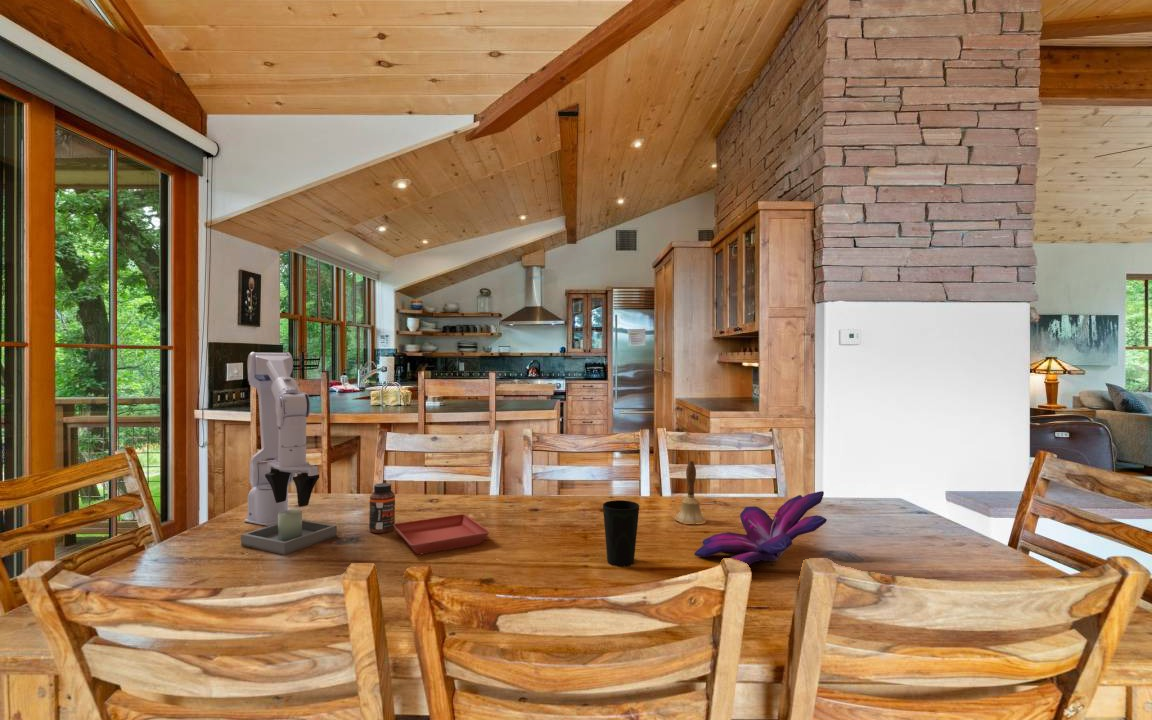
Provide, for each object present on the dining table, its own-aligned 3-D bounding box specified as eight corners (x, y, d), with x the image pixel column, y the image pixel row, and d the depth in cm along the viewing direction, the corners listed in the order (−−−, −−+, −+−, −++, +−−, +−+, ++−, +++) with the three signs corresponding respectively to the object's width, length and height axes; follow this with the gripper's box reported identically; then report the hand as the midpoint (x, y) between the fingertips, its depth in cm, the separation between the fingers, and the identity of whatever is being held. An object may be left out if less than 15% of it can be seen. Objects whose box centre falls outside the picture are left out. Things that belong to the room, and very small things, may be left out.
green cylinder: (273, 540, 126) (272, 514, 126) (292, 533, 130) (292, 508, 130) (288, 543, 124) (288, 516, 124) (307, 536, 128) (307, 511, 128)
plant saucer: (392, 536, 132) (392, 522, 132) (464, 525, 141) (464, 512, 141) (411, 560, 116) (411, 545, 116) (490, 546, 125) (490, 531, 125)
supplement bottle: (384, 535, 131) (384, 488, 131) (363, 532, 133) (364, 486, 133) (399, 528, 137) (400, 482, 137) (380, 525, 139) (380, 481, 139)
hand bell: (713, 522, 144) (713, 461, 144) (690, 527, 140) (691, 464, 140) (689, 514, 151) (690, 457, 151) (667, 519, 146) (668, 459, 146)
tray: (241, 545, 123) (241, 534, 123) (295, 528, 136) (295, 518, 136) (284, 554, 118) (284, 543, 118) (336, 536, 131) (336, 525, 131)
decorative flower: (727, 620, 101) (704, 569, 102) (699, 569, 131) (681, 530, 132) (880, 551, 100) (855, 500, 101) (816, 516, 131) (797, 478, 132)
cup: (600, 555, 119) (600, 500, 119) (635, 554, 119) (635, 499, 119) (605, 569, 111) (605, 510, 111) (642, 568, 112) (642, 509, 112)
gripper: (329, 445, 128) (328, 503, 128) (286, 441, 134) (285, 496, 134) (303, 449, 122) (302, 510, 122) (259, 445, 128) (258, 503, 128)
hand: (291, 503), depth 128 cm, fingers open, 7 cm apart
